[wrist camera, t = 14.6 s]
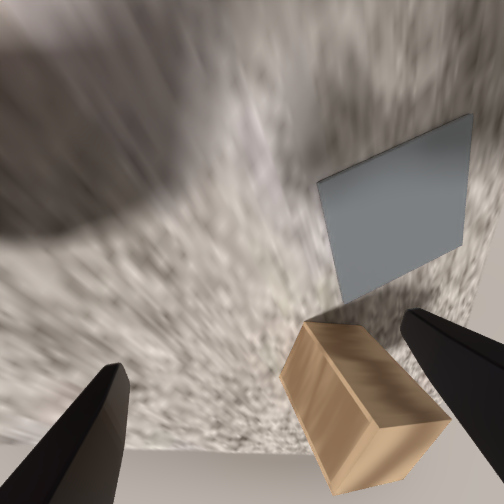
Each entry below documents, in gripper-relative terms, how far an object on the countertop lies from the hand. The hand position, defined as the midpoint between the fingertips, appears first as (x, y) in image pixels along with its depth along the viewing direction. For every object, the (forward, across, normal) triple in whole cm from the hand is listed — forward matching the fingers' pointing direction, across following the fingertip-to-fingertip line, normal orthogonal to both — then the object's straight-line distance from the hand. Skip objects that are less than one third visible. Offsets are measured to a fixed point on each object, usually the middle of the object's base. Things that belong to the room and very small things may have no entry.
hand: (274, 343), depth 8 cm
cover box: (+12, -8, +16) cm, 21 cm away
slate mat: (+13, -14, +2) cm, 19 cm away
